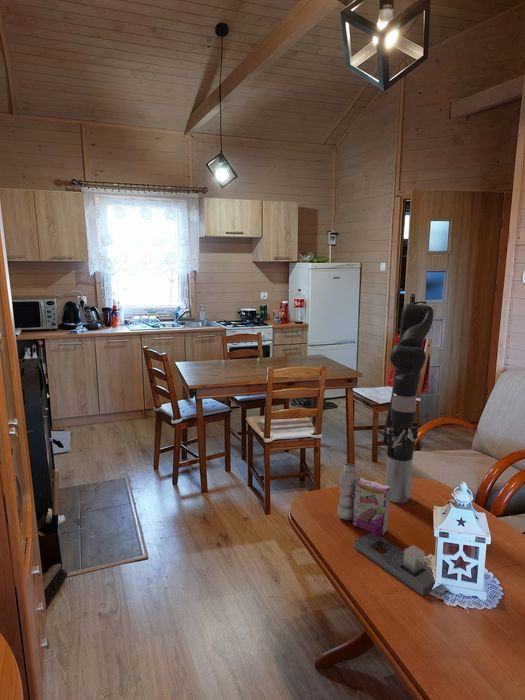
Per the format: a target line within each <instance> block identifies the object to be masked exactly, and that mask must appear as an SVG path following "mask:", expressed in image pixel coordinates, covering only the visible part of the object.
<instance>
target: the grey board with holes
mask: <svg viewBox="0 0 525 700" xmlns="http://www.w3.org/2000/svg"><path fill="white" fill-rule="evenodd" d="M353 543H354V544H353V547H354V549H355V550H357V551H358V552H359V553H361V554H362V555H364V556H365V557H367V558H368V559H369V560H370V561H373V563H375V564H376V565H378V566H380V567H381V568H382V569H383V570H385V571H386V572H387V573H389V574H390V575H392V576H393V577H395V578H396V579H398V580H399V581H400V582H402V583H403V584H404V585H406V586H407V587H409V588H410V589H412V591H414V592H416V593H417V594H419V596H421V597H424V596H426V595H427V594H429V593H431V592H432V591H433V590H432V588H433V586H434V584H435V580H434V577H433V572H432V568H431V567H429V566H427V564H425V563H424V566H423V573H421V574H419V575H418V576H416V577H414V576H412V575H411V574H409V573H408V572H406V571H405V570H403V561H404V550H403V549H401V548H400V547H398V546H397V545H395V544H393V543H392V542H390V541H389V540H388V539H386V538H384V537H383V536H381V535H378V534H377V533H375V532H370V533H368V534H366V535H362V536H361V537H359V538H357V539H355V540H354V542H353ZM379 548H380V549H382V550H384V551H385V553H383V554H382V553H380V552H378V551H377V550H376V549H379ZM431 590H432V591H431Z"/></svg>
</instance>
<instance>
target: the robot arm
mask: <svg viewBox="0 0 525 700" xmlns="http://www.w3.org/2000/svg"><path fill="white" fill-rule="evenodd" d="M400 318H401V319H400V330H399V339H398V340H399V341H398V343H396V345H394V347H393V348H392V350H391V351H390V355H389V360H390V364H392V365H393V367H394V373H393V374H394V375H393V382H392V383H393V385H392V391H391V396H390V402H389V405H388V412H387V415H386V420H385V425H384V431H383V432H384V435H383V442H382V445H383V446H386V447H387V452H386V453H387V454H386V455H387V457H386V458H387V459H386V471H385V484H384V485H386V486H389V487H391V490H390V501H389V502H392V503H394V504H395V503H396V504H405V503H407V502H408V501H409V500H410V498H411V493H412V492H411V491H412V481H413V474H412V469H413V468H412V467H413V458H414V457H413V456H414V452H415V447H416V440H417V439H418V437H419V422H418V421H417V419H416V413H417V411H416V410H417V392H418V391H417V390H418V385H419V383H420V378H421V373H422V369H423V367H424V364H425V362H426V360H427V359H426V358H427V354H426V352H425V350H424V349H423V345H424V341H425V338H426V336H427V335H428V334H429V332H430V330H431V327H432V326H433V325H432V324H433V323H434V310H433V307H432V306H430V305H424V304H415V303H406V304H404V305H403V308H402V311H401V317H400ZM400 441H401V444H398V443H399V442H400Z"/></svg>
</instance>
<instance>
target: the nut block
mask: <svg viewBox="0 0 525 700" xmlns="http://www.w3.org/2000/svg"><path fill="white" fill-rule="evenodd" d="M403 551H404V561H403V570H405V571H406V572H408V573H409V574H411V575H412V576H414V577H416V576H418V575H419V574H421V573H423V566H424V564H425V555H426V552H425V551H424V550H422V549H421V548H419V547H418V546H417V545H414V544H412V545H410V546H408V547H407V548H405V549H404V550H403Z"/></svg>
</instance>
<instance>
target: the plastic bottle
mask: <svg viewBox="0 0 525 700" xmlns="http://www.w3.org/2000/svg"><path fill="white" fill-rule="evenodd" d="M343 466H344V467H343V472H342V473H341V474H340V475H339V480H338V481H339V503H338V506H337V515H338V517H339V518H341V520H344V521H352V518H353V505H354V492H355V482H356V481H358V480H359V477H358V476H357V474H356V473H355V472H356V465H355V464H353V463H345V464H344V465H343Z"/></svg>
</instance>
